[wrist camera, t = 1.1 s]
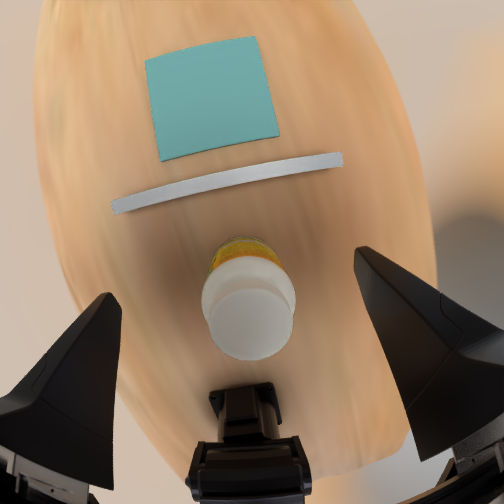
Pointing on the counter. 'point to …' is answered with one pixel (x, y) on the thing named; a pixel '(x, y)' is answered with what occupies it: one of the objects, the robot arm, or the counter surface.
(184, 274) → the counter surface
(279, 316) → the supplement bottle
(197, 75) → the teal mat
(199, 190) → the low wall
